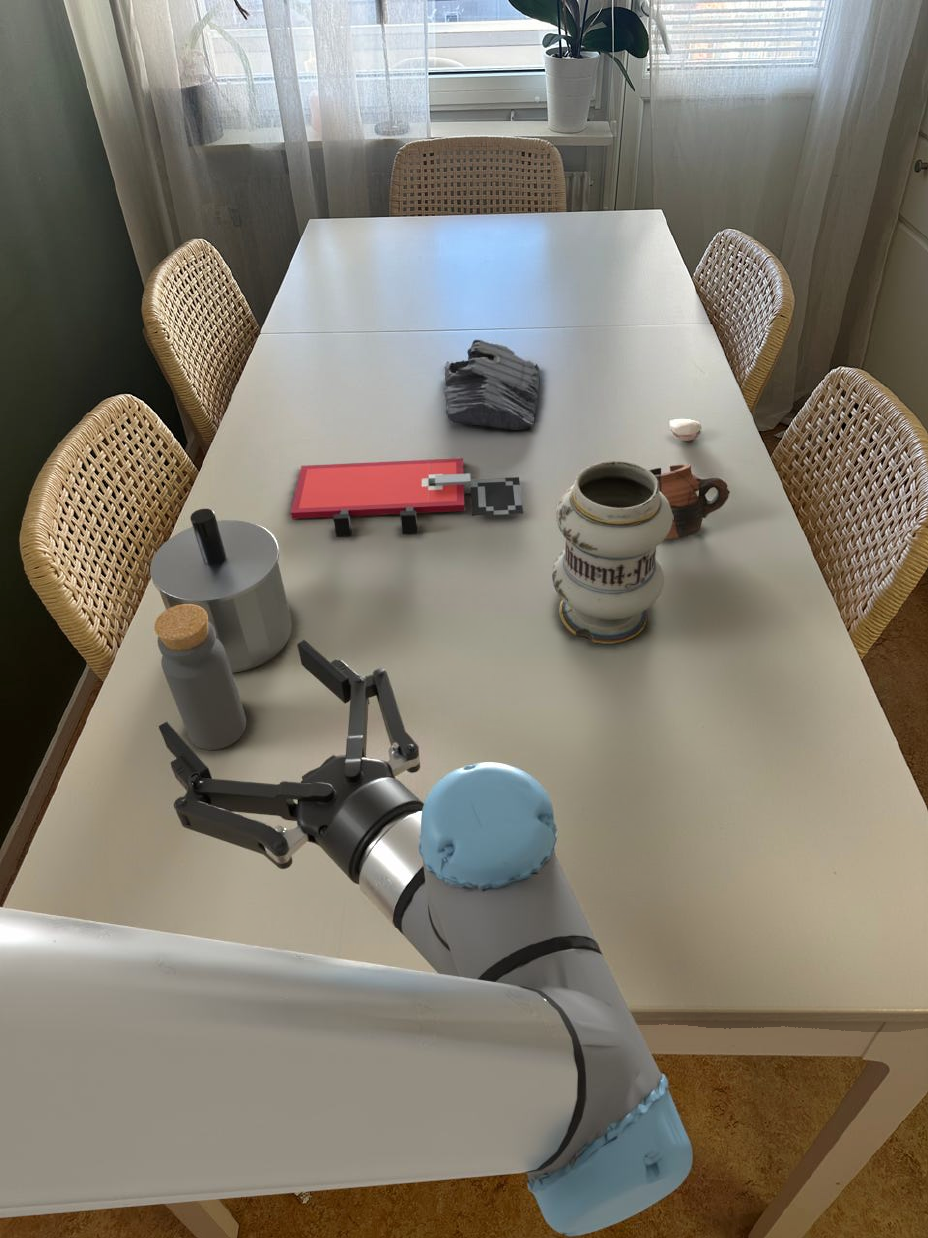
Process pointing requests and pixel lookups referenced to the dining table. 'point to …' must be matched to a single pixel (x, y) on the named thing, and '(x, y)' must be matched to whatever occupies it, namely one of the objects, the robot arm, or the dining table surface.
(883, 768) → the dining table surface
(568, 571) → the apothecary jar
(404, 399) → the dining table surface
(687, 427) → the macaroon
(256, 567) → the pot lid
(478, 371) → the dark slate chunk
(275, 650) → the pot
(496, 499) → the red board with handle
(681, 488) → the pottery mug
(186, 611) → the bottle
